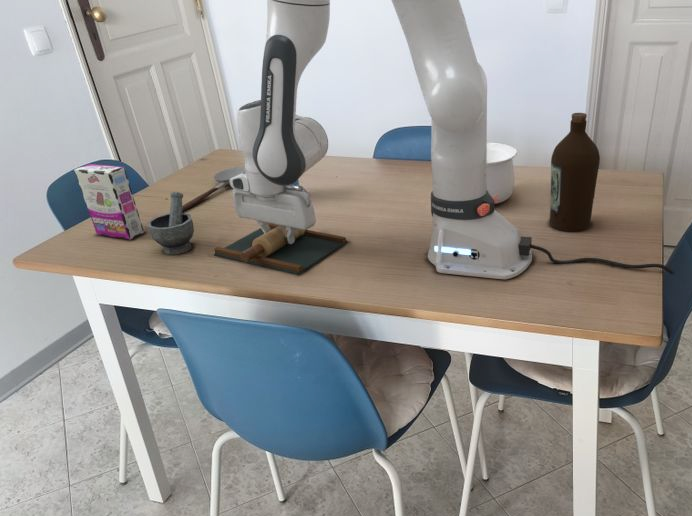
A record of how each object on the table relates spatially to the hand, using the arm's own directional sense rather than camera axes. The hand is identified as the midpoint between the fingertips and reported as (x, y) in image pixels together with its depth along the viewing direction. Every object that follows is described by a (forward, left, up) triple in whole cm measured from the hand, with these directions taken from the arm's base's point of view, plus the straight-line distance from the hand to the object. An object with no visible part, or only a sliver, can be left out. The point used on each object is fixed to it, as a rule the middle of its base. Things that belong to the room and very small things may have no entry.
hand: (279, 240), depth 142 cm
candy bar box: (+43, +9, -2) cm, 44 cm away
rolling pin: (0, 0, -2) cm, 2 cm away
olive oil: (-55, -39, -2) cm, 68 cm away
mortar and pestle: (+23, +9, -2) cm, 25 cm away
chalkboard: (0, 0, -2) cm, 2 cm away
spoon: (+42, -20, -2) cm, 46 cm away
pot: (-29, -46, -2) cm, 54 cm away
